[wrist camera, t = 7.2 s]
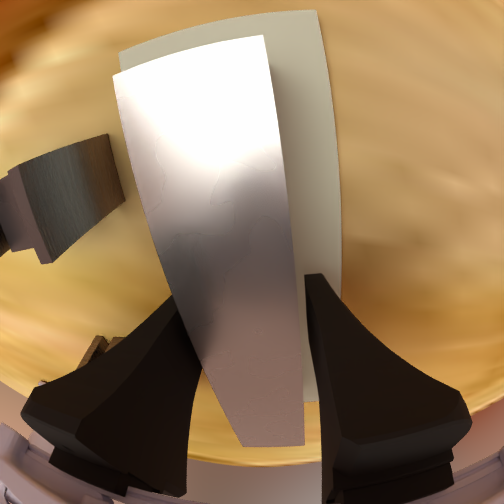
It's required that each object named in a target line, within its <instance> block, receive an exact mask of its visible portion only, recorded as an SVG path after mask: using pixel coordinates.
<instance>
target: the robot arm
mask: <svg viewBox="0 0 504 504" xmlns="http://www.w3.org/2000/svg"><path fill="white" fill-rule="evenodd" d="M304 282H305V299H306V318H307V329H308V340H309V346H310V351H311V357H312V362H313V367H314V372H315V378H316V383H317V389H318V396H319V407H320V424H321V450H322V504H504V446H503V447H502V448H501V449H500V450H499V451H498V452H496V453H494V454H492V455H490V456H488V457H486V458H485V459H482V460H480V461H478V462H476V463H474V464H472V465H470V466H468V467H466V468H464V469H461V470H459V471H457V472H454V473H452V469H451V465H450V462H451V461H453V459H454V456H453V453H452V448H453V446H455V445H456V444H457V443H458V442H459V441H460V440H461V439H462V438H463V437H464V436H465V435H466V434H467V433H468V431H469V430H470V428H471V425H472V420H471V416H470V414H469V411H468V408H467V406H466V403H465V401H464V400H463V398H462V396H461V394H460V392H459V391H458V390H456V389H454V388H452V387H450V386H448V385H446V384H444V383H442V382H439V381H437V380H435V379H434V378H432V377H430V376H428V375H426V374H425V373H423V372H422V371H420V370H418V369H417V368H415V367H413V366H412V365H410V364H409V363H408V362H406V361H405V360H404V359H402V358H401V357H399V356H398V355H397V354H395V353H394V352H392V351H391V350H390V349H389V348H388V347H386V346H385V345H384V344H383V343H382V342H380V341H379V340H378V339H377V338H376V337H375V336H374V335H373V334H372V333H371V332H369V331H368V330H367V329H366V328H365V327H364V326H363V325H362V323H361V322H360V321H359V320H358V319H357V318H356V317H355V316H354V315H353V314H352V313H351V311H350V310H349V309H348V308H347V307H346V305H345V304H344V303H343V302H342V301H341V299H340V298H339V297H338V295H337V294H336V293H335V291H334V290H333V289H332V287H331V286H330V284H329V283H328V281H327V280H326V278H325V276H324V275H323V274H322V273H316V274H306V275H304ZM201 370H202V365H201V363H200V360H199V358H198V356H197V354H196V351H195V349H194V347H193V344H192V342H191V340H190V337H189V335H188V333H187V330H186V328H185V325H184V323H183V320H182V318H181V316H180V313H179V311H178V308H177V305H176V303H175V300H174V298H173V295H171V296H170V297H169V298H168V299H167V300H166V301H165V302H164V303H163V304H162V305H161V306H160V307H159V308H158V309H157V310H156V311H155V312H154V313H153V314H151V315H150V316H149V317H148V318H147V319H146V320H145V321H144V322H143V323H142V324H140V325H139V326H138V327H137V328H136V329H135V330H134V331H133V332H131V333H130V334H129V335H128V336H127V337H125V338H124V339H123V340H122V341H120V342H119V343H118V344H116V345H115V346H114V347H112V348H111V349H109V350H108V351H107V352H105V353H104V354H102V355H100V356H99V357H97V358H96V359H94V360H92V361H91V362H89V363H88V364H86V365H84V366H82V367H81V368H79V369H77V370H75V371H73V372H71V373H69V374H67V375H65V376H63V377H60V378H58V379H56V380H53V381H51V382H48V383H45V382H42V381H40V382H39V383H38V384H39V386H37V387H35V388H34V389H33V391H32V393H31V394H30V396H29V398H28V400H27V402H26V404H25V405H24V407H23V409H22V411H21V417H22V419H23V420H24V421H25V422H26V423H27V424H28V425H29V426H30V427H31V428H32V429H33V430H32V432H31V434H30V437H29V439H28V440H27V439H26V438H24V437H23V436H22V435H21V434H19V433H18V432H17V431H15V430H14V429H12V428H10V427H9V426H8V425H6V424H4V423H1V425H0V504H10V503H12V504H114V502H113V500H112V499H114V500H117V501H120V502H122V503H125V504H208V503H201V502H194V501H188V500H183V499H178V498H179V497H181V496H183V495H185V494H186V493H187V489H186V488H187V487H186V476H187V475H186V474H187V451H188V439H189V429H190V421H191V414H192V407H193V401H194V396H195V392H196V389H197V385H198V381H199V378H200V374H201ZM152 492H154V493H152ZM155 493H158V494H155ZM159 494H164V495H168V496H173V497H178V498H173V497H168V496H164V495H159ZM8 501H9V502H10V503H9V502H8Z"/></svg>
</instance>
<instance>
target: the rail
mask: <svg viewBox="0 0 504 504" xmlns="http://www.w3.org/2000/svg"><path fill="white" fill-rule="evenodd" d="M113 81H114V87H115V93H116V98H117V104H118V109H119V114H120V119H121V123H122V128H123V133H124V137H125V141H126V146H127V150H128V154H129V158H130V162H131V166H132V170H133V174H134V178H135V181H136V185H137V189H138V192H139V196H140V199H141V203H142V206H143V209H144V213H145V216H146V219H147V223H148V226H149V229H150V232H151V235H152V238H153V241H154V244H155V247H156V250H157V253H158V256H159V259H160V262H161V265H162V268H163V271H164V273H165V276H166V279H167V282H168V284H169V287H170V290H171V292H172V295H173V298H174V300H175V303H176V305H177V308H178V311H179V313H180V316H181V318H182V320H183V323H184V325H185V328H186V330H187V333H188V335H189V337H190V340H191V342H192V344H193V347H194V349H195V351H196V354H197V356H198V358H199V360H200V363H201V365H202V367H203V369H204V371H205V373H206V376H207V378H208V380H209V382H210V384H211V386H212V388H213V390H214V392H215V395H216V397H217V399H218V401H219V403H220V405H221V407H222V409H223V411H224V413H225V414H226V416H227V418H228V420H229V422H230V424H231V426H232V428H233V430H234V432H235V433H236V435H237V437H238V439H239V441H240V443H241V444H242V446H243V447H285V446H303V445H305V436H304V401H303V377H302V357H301V340H300V325H299V311H298V298H297V285H296V274H295V262H294V252H293V242H292V232H291V223H290V213H289V205H288V196H287V188H286V179H285V172H284V164H283V156H282V149H281V142H280V135H279V128H278V121H277V114H276V108H275V101H274V95H273V89H272V83H271V77H270V71H269V65H268V60H267V54H266V49H265V43H264V38H263V35H259V36H252V37H246V38H240V39H234V40H229V41H223V42H219V43H214V44H209V45H205V46H201V47H197V48H193V49H189V50H185V51H182V52H178V53H175V54H171V55H168V56H165V57H162V58H159V59H156V60H153V61H150V62H147V63H144V64H141V65H138V66H136V67H133V68H131V69H128V70H125V71H123V72H121V73H118V74H116V75H113Z"/></svg>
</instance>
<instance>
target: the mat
mask: <svg viewBox="0 0 504 504" xmlns="http://www.w3.org/2000/svg"><path fill="white" fill-rule="evenodd" d="M259 35H263V38H264V43H265V49H266V54H267V60H268V65H269V71H270V77H271V83H272V89H273V95H274V101H275V108H276V114H277V121H278V128H279V135H280V142H281V149H282V156H283V164H284V172H285V179H286V188H287V196H288V205H289V213H290V223H291V232H292V242H293V252H294V262H295V274H296V285H297V298H298V311H299V325H300V340H301V357H302V377H303V401H304V402H312V401H319V396H318V389H317V383H316V378H315V372H314V367H313V362H312V357H311V351H310V346H309V340H308V329H307V318H306V299H305V282H304V275H306V274H316V273H322V274H323V275H324V276H325V278H326V280H327V281H328V283H329V284H330V286H331V287H332V289H333V290H334V291H335V293H336V294H337V295H338V297H339V298H340V299H341V272H342V231H341V198H340V178H339V163H338V151H337V139H336V129H335V120H334V111H333V103H332V95H331V88H330V81H329V75H328V68H327V62H326V57H325V51H324V46H323V40H322V35H321V30H320V26H319V21H318V16H317V12H316V10H295V11H281V12H271V13H262V14H255V15H248V16H241V17H236V18H230V19H225V20H220V21H215V22H211V23H206V24H202V25H198V26H194V27H191V28H187V29H183V30H180V31H176V32H173V33H170V34H167V35H164V36H161V37H158V38H155V39H152V40H149V41H146V42H144V43H141V44H138V45H136V46H133V47H131V48H128V49H126V50H123V51H121V52H119V60H120V67H121V72H123V71H125V70H128V69H131V68H133V67H136V66H138V65H141V64H144V63H147V62H150V61H153V60H156V59H159V58H162V57H165V56H168V55H171V54H175V53H178V52H182V51H185V50H189V49H193V48H197V47H201V46H205V45H209V44H214V43H219V42H223V41H229V40H234V39H240V38H246V37H252V36H259Z"/></svg>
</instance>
